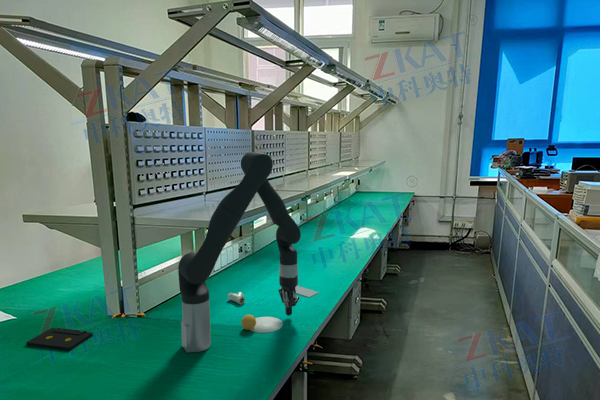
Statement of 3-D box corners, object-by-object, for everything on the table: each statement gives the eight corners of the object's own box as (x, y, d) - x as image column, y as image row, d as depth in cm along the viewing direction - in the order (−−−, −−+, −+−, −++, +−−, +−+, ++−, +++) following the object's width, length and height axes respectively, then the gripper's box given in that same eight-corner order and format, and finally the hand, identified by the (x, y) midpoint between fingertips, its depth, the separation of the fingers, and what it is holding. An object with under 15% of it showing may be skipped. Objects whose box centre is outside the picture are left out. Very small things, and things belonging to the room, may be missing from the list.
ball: (252, 334, 155) (242, 328, 152) (246, 329, 160) (236, 322, 157) (261, 321, 157) (251, 315, 154) (254, 316, 161) (244, 310, 158)
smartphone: (309, 297, 189) (284, 289, 198) (309, 299, 189) (284, 291, 198) (319, 292, 195) (295, 284, 204) (319, 294, 195) (295, 286, 204)
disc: (257, 336, 151) (257, 335, 151) (241, 322, 163) (241, 322, 163) (289, 327, 159) (289, 326, 159) (271, 314, 171) (271, 314, 170)
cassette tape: (93, 337, 152) (92, 331, 152) (69, 352, 141) (69, 346, 140) (52, 332, 156) (51, 327, 155) (26, 347, 145) (25, 341, 144)
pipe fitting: (239, 298, 190) (227, 301, 185) (239, 289, 190) (227, 292, 185) (250, 302, 185) (239, 305, 180) (251, 294, 185) (239, 297, 180)
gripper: (272, 271, 168) (272, 311, 170) (289, 280, 157) (289, 323, 159) (287, 268, 172) (288, 307, 174) (305, 276, 161) (305, 318, 163)
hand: (288, 314), depth 167 cm, fingers closed
